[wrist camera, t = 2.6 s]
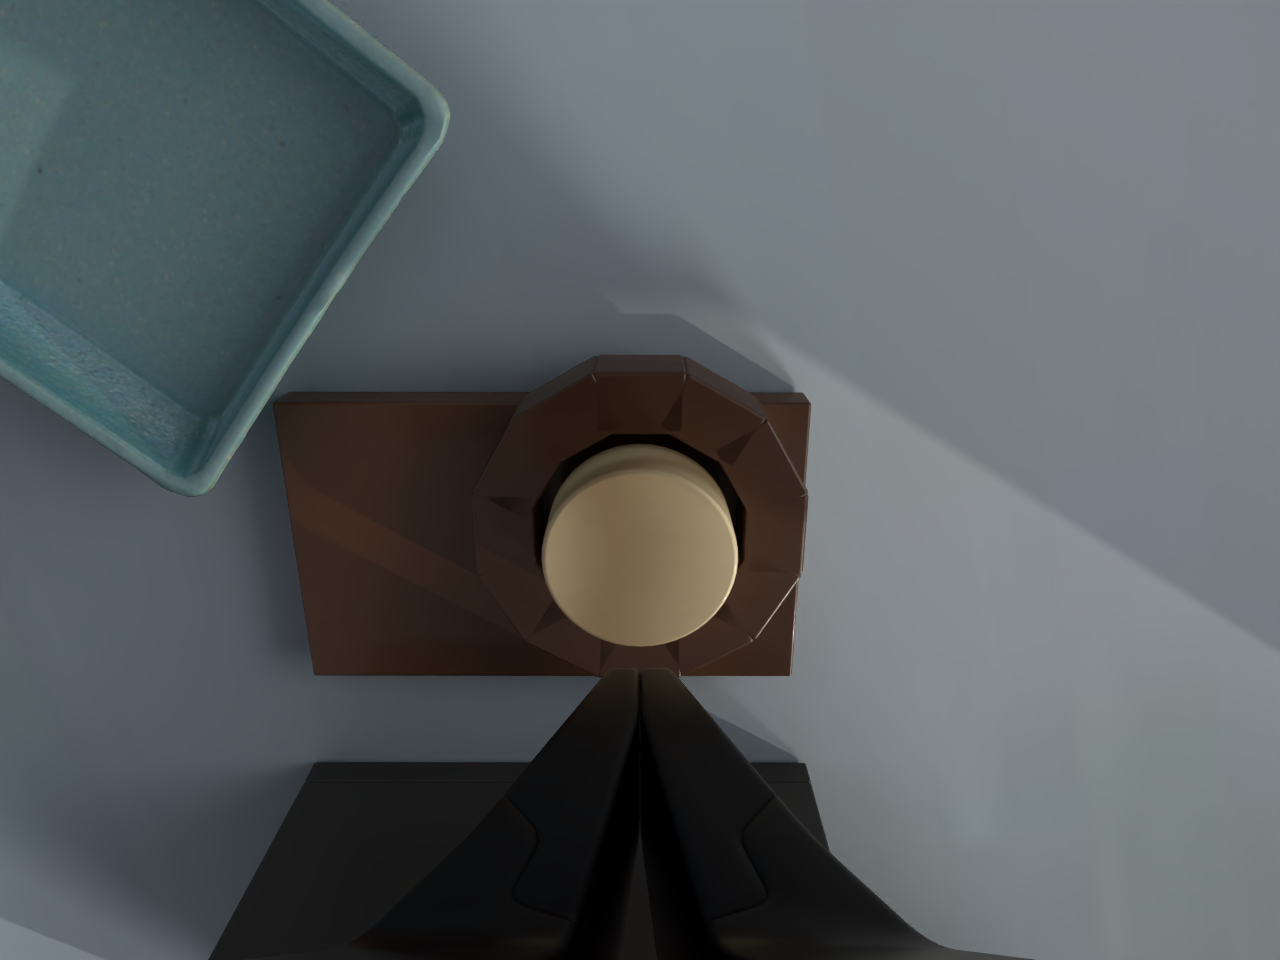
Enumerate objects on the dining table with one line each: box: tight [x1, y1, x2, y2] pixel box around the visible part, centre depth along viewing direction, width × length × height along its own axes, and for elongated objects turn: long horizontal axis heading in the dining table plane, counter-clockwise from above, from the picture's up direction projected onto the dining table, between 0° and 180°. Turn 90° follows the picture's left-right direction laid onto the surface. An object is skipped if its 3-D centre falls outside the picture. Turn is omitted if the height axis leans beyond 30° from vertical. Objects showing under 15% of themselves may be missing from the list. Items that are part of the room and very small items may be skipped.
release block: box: [273, 355, 811, 678], centre depth 18 cm, size 11×8×2 cm
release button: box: [542, 444, 738, 646], centre depth 16 cm, size 4×4×2 cm
